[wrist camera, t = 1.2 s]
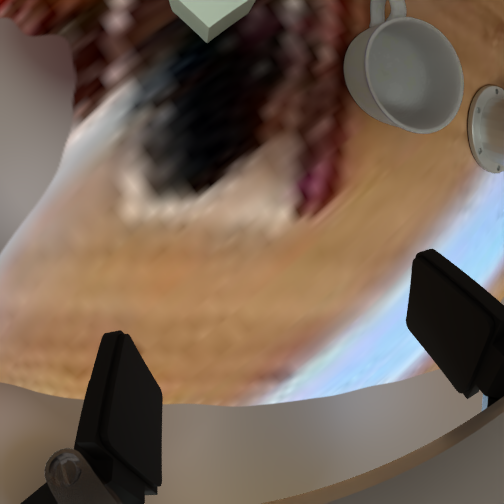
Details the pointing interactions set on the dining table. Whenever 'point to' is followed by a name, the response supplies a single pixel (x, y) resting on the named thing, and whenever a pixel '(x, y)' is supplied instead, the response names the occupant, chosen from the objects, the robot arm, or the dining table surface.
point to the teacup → (404, 71)
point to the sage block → (210, 14)
